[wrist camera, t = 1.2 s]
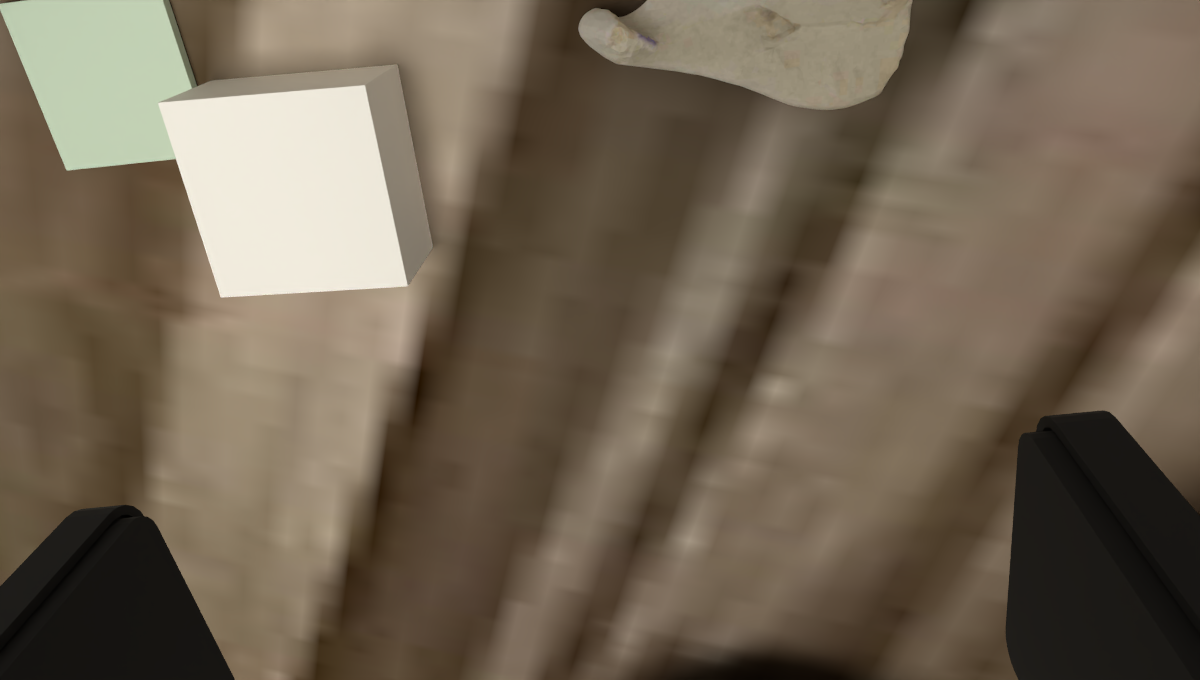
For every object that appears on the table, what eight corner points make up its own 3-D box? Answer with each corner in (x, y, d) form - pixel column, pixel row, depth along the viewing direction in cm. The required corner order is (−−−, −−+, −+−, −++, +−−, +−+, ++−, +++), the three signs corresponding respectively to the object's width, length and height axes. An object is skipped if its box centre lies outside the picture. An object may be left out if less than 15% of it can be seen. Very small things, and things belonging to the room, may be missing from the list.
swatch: (6, 3, 30) (-2, 4, 30) (163, -18, 30) (157, -17, 29) (72, 167, 33) (66, 170, 33) (218, 152, 32) (213, 155, 32)
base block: (214, 79, 31) (157, 102, 28) (399, 62, 31) (364, 85, 27) (265, 256, 35) (221, 297, 31) (434, 245, 34) (407, 286, 30)
